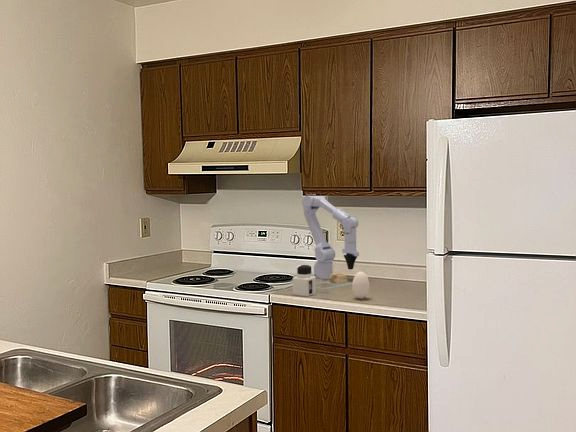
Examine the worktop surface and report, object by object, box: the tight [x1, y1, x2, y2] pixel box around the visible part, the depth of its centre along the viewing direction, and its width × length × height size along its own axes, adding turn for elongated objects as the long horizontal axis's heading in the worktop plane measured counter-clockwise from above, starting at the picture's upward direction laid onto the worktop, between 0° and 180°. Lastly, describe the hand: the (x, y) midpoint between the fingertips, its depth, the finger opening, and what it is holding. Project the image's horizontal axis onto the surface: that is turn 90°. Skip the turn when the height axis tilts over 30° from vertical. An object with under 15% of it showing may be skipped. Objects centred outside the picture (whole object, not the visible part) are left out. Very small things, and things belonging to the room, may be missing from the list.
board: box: [316, 280, 353, 290], centre depth 290 cm, size 14×21×1 cm, turn 131°
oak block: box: [329, 272, 348, 284], centre depth 293 cm, size 6×6×4 cm
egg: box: [351, 271, 371, 300], centre depth 260 cm, size 7×7×12 cm
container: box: [292, 264, 317, 297], centre depth 271 cm, size 8×8×13 cm
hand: (350, 269), depth 298 cm, fingers closed
